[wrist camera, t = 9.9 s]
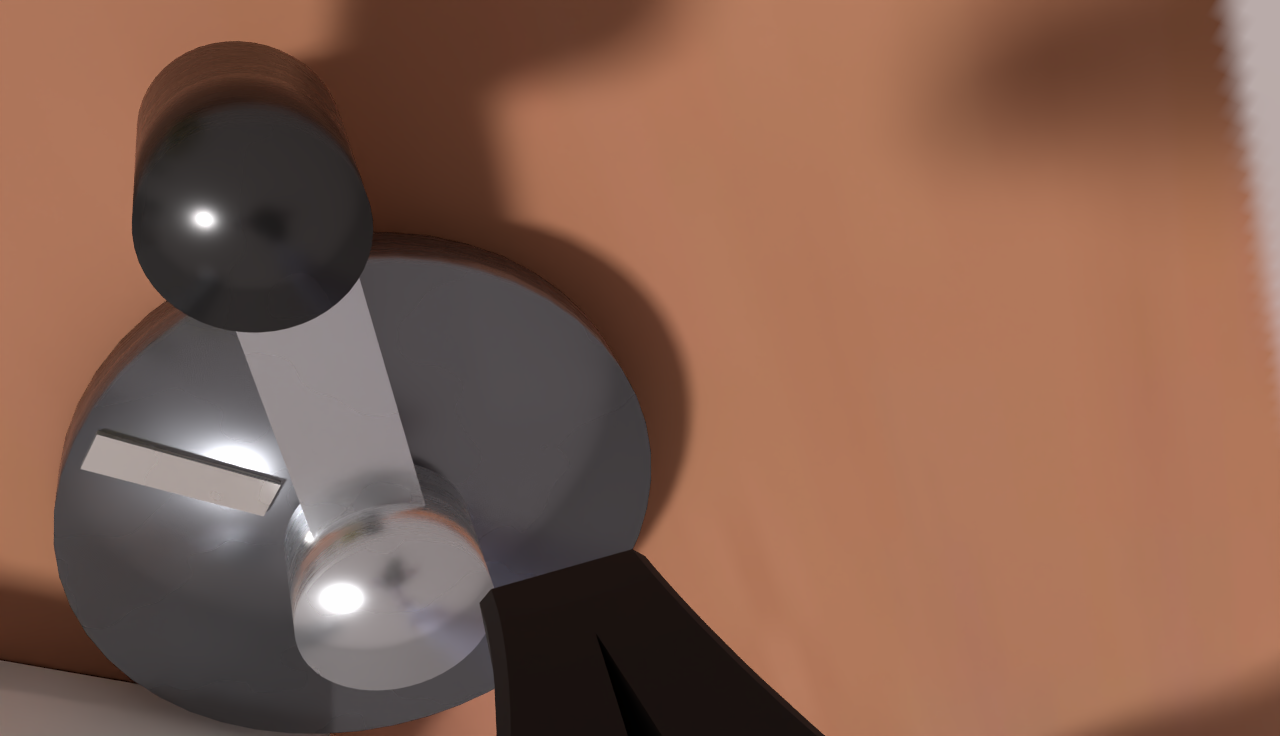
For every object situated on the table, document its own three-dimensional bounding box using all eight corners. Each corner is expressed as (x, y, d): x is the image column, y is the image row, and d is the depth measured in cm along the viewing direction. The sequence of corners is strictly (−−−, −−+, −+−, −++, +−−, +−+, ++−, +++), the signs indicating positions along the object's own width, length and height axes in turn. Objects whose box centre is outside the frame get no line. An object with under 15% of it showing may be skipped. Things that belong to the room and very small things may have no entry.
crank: (485, 574, 19) (539, 739, 17) (312, 628, 19) (338, 809, 16) (331, -9, 14) (372, 91, 11) (81, 44, 13) (59, 164, 11)
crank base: (729, 352, 20) (754, 386, 19) (476, 726, 23) (488, 771, 22) (206, 131, 16) (209, 162, 15) (-31, 634, 18) (-42, 686, 17)
